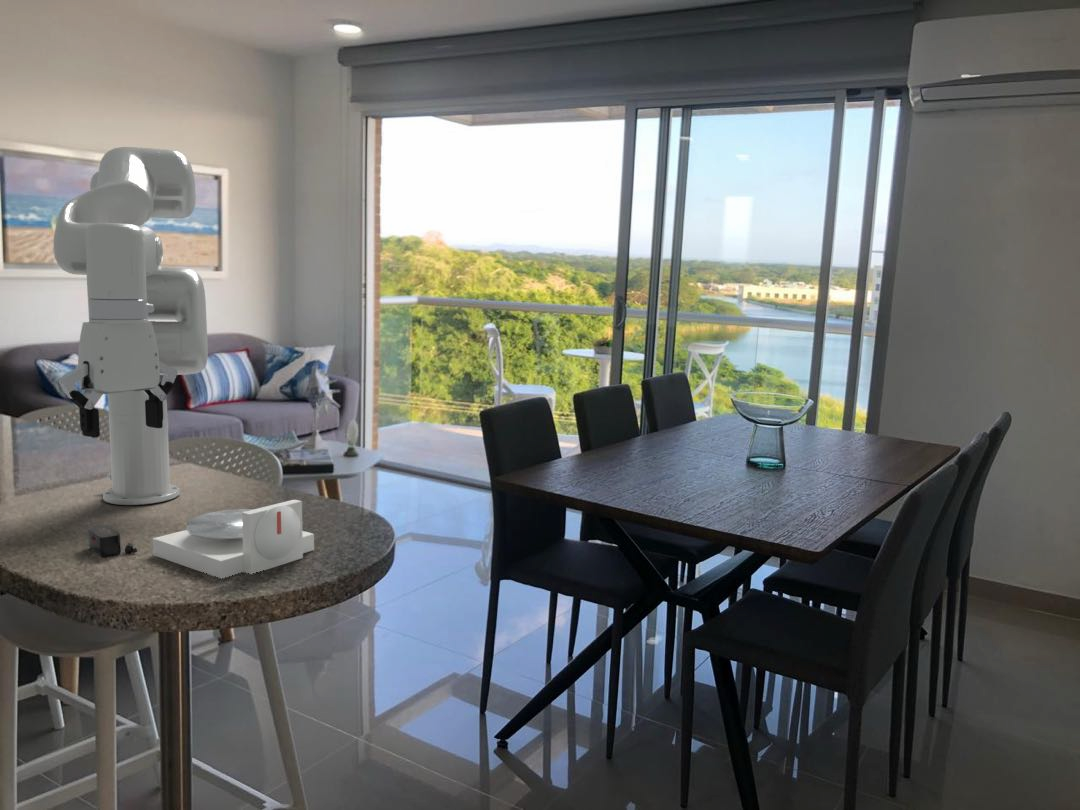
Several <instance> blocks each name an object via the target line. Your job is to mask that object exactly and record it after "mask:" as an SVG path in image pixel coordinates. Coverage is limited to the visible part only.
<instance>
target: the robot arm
mask: <svg viewBox="0 0 1080 810" xmlns="http://www.w3.org/2000/svg"><path fill="white" fill-rule="evenodd" d="M98 167H99V168H98V171H96V172H95V173H94V174H93V175H92V177H91V179H90V182H89V183H90V184H89V187H90V188H89V189H90V190H88V191H86V192H83V193H81V194H80V195H77V196H75V197H74V198H72V199H70V200H69V201H67V202H66V203H65V204H64V205H63V206H62V207H61V209H60V211H59V213H58V216H57V221H56V226H55V230H54V234H53V254H54V258H55V261H56V263H57V265H58V266H59V267H60V268H61V270H63V272H66V273H67V274H72V275H75V276H77V275H81V276H82V275H83V276H86V286H87V287H86V288H87V290H86V291H87V306H88V307H87V308H88V310H87V311H88V321H87V322H82V325H81V330H80V336H79V344H78V354H77V355H78V356H77V357H78V358H77V367H75V368H74V369H72V370H71V371H69V372H67V373H65V374H64V375H62V376H61V377H59V378H58V384H59V386H60V387H61V389H62V390H63V392H64V394H65V397H66V398H67V399H69V400H70V401H71V402H72V403H73V404H74V406H75V407H76V408H79V409H78V410H79V426H80V427H79V428H80V430H81V431H82V435H83V436H85V437H90V438H94V439H95V438H99V437H100V436H101V430H100V412H99V409H98V408H95V406H96V404H97V403H98V402H99V401H100V399H101V398H102V396H103V395H107V405H108V406H107V407H108V408H107V409H108V426H109V427H108V430H109V445H110V446H109V447H110V448H109V451H110V467H111V468H110V469H111V470H110V471H109V472H108V473H107V474H106V479H107V480H108V481H111V487H110V488H107V489H105V491H103V493H102V500H103V501H104V502H105V503H108V504H112V505H117V506H118V505H119V506H120V505H121V506H139V505H140V506H141V505H151V504H157V503H162V502H166V501H170V500H173V499H175V498H177V497H178V496H180V487H179V486H178V485H176V484H173V483H171V481H170V480H171V477H170V475H171V474H170V453H169V451H170V448H169V447H170V446H169V425H168V424H169V423H168V402H167V398H168V397H167V395H168V394H169V393H170V392H171V391H172V390H173V387H174V383H175V380H176V378H177V377H178V376H179V375H194V374H199V373H200V372H203V370H204V369H205V368H206V366H207V362H208V356H209V349H208V346H209V344H208V323H207V306H206V305H207V304H206V303H207V302H206V293H205V292H206V291H205V286H204V281H203V279H202V277H201V275H200V274H199V273H198V272H197V271H196V270H193V269H192V268H186V267H174V266H173V267H170V266H167V267H166V266H161V265H162V264H163V263H162V262H163V259H164V258H163V256H164V255H163V254H164V252H163V251H164V249H163V244H162V240H161V238H160V237H159V236H158V235H157V234H156V232H155V231H154V230H153V229H151V228H150V227H147V226H145V225H144V224H146V223H147V222H148V221H149V220H150V218H159V219H161V218H162V219H185V218H188V217H190V216H191V215H192V213H193V212H194V210H195V207H196V198H197V196H196V182H195V181H196V180H195V174H194V170H193V167H192V165H191V162H190V160H189V159H188V157H186V156H185V155H184V153H182V152H179V151H177V150H173V149H165V148H163V149H162V148H161V149H160V148H151V147H148V148H147V147H137V146H136V147H135V146H121V147H114V148H112V149H110V150H108V151H107V152H106V153H104V155H103V156H102V157H101V159H100V162H99V166H98ZM155 320H157V321H155ZM158 320H159V321H158ZM162 320H163V321H162ZM164 320H165V321H164ZM166 320H167V321H166ZM171 320H172V321H171ZM160 376H162V380H161V381H160ZM76 383H77V384H78V387H79V389H80V390H81V391H82V392H80V391H79V390H78V389H77V386H76Z"/></svg>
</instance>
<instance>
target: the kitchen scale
mask: <svg viewBox="0 0 1080 810" xmlns="http://www.w3.org/2000/svg"><path fill="white" fill-rule="evenodd" d="M185 528H186V529H185V530H181V531H177V532H172V533H170V534H169V533H168V534H164V535H162V536H157V537H153V538H152V551H153V553H152V555H153V556H155V557H158V558H161V559H163V560H167V561H170V562H172V563H175V564H178V565H180V566H182V567H183V566H184V567H187V568H190V569H192V570H195V571H197V572H201V573H203V572H204V574H206V573H207V574H206V575H209V576H211V577H215V576H216V577H215V578H217V577H218V579H220V578H221V580H223V579H226V578H229V576H230V577H233V576H235V574H236V575H239V574H241V572H242V573H245V572H246V573H245V574H248V573H249V574H248V575H254V574H256V572H258V573H260V571H261V572H263V570H264V571H267V570H269V569H273V568H277V567H279V566H283V565H286V564H289V563H291V562H296V561H298V560H301V559H303V558H304V554H307V553H309V552H312V551H315V534H314V533H312V532H308V531H306V530H305V531H304V530H303V501H302V500H298V499H291V500H286V501H282V502H278V503H275V504H274V503H273V504H270V505H267V506H262V507H258V508H255V509H253V508H237V509H223V510H217V511H210V512H207V513H203V514H200V515H197V516H195V517H192V518H190V519H189V520H188V521H187V522H186V527H185ZM238 573H239V574H238ZM253 573H254V574H253ZM232 575H233V576H232ZM225 577H226V578H225ZM222 578H223V579H222Z"/></svg>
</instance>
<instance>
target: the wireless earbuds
mask: <svg viewBox="0 0 1080 810" xmlns="http://www.w3.org/2000/svg"><path fill="white" fill-rule="evenodd" d="M88 545H89V548H90V550H92V551H93V552H94V553H96V554H97V555H98V556H99V557H101V558H103V559H107V558H111V557H116V556H120V555H121V553H122V546H121V545H122V544H121V533H120V532H119V531H117V530H115V529H114V528H113V527H111V526H110V525H107V524H105V525H96V526H91V527H88ZM137 552H138V549H137V547H134V544H132V543H131V542H129V543H126V544H125V547H124V553H125V555H132V554H135V553H137Z"/></svg>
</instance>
